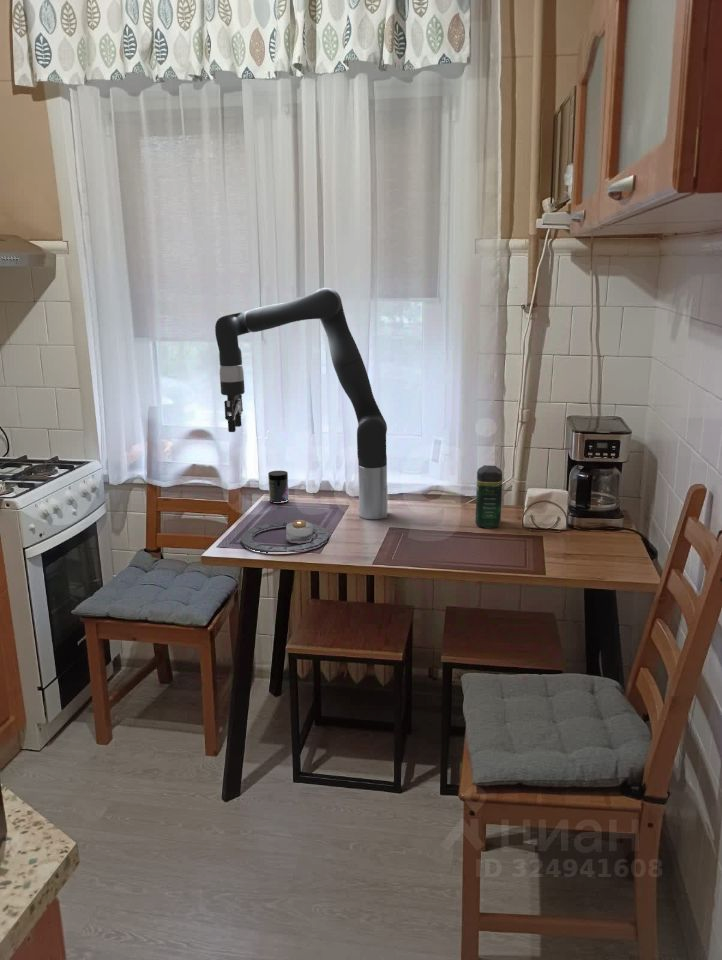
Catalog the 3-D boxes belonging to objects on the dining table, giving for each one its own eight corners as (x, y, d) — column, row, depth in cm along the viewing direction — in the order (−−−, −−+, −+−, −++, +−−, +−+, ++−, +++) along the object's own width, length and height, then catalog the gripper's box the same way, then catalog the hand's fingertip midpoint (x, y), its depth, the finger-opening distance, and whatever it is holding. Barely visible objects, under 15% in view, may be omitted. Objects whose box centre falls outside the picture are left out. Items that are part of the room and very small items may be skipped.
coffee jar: (501, 529, 245) (503, 471, 240) (475, 528, 246) (477, 471, 241) (500, 519, 254) (502, 463, 249) (475, 518, 255) (476, 463, 250)
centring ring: (332, 525, 250) (332, 522, 250) (321, 555, 226) (321, 551, 225) (252, 524, 253) (252, 521, 252) (232, 553, 228) (232, 550, 227)
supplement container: (281, 505, 272) (280, 476, 269) (265, 503, 275) (264, 474, 272) (292, 500, 278) (291, 471, 275) (276, 497, 281) (275, 469, 278)
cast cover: (314, 535, 242) (314, 518, 241) (311, 544, 235) (310, 526, 233) (289, 535, 243) (288, 517, 241) (284, 544, 235) (283, 526, 234)
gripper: (238, 382, 244) (241, 433, 248) (248, 375, 258) (251, 424, 262) (214, 382, 245) (218, 433, 249) (225, 376, 258) (228, 424, 263)
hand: (235, 429), depth 256 cm, fingers open, 8 cm apart
